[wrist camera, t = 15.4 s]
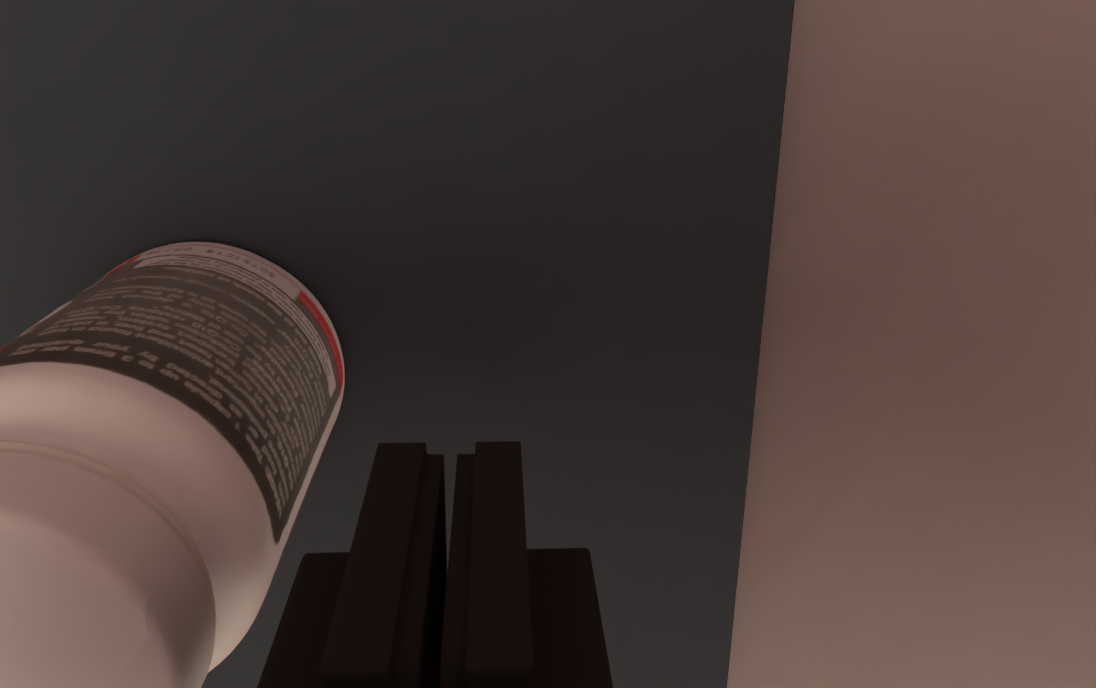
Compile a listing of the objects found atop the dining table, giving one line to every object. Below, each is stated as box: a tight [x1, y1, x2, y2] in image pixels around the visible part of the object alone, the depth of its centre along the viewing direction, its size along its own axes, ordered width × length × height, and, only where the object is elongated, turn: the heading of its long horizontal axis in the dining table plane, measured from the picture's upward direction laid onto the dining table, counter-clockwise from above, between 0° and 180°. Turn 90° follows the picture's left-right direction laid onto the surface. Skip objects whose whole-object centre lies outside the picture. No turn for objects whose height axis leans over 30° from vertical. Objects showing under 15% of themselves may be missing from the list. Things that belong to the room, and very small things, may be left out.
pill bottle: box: [0, 242, 345, 688], centre depth 13 cm, size 5×5×8 cm
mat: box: [0, 0, 795, 688], centre depth 17 cm, size 20×16×1 cm
